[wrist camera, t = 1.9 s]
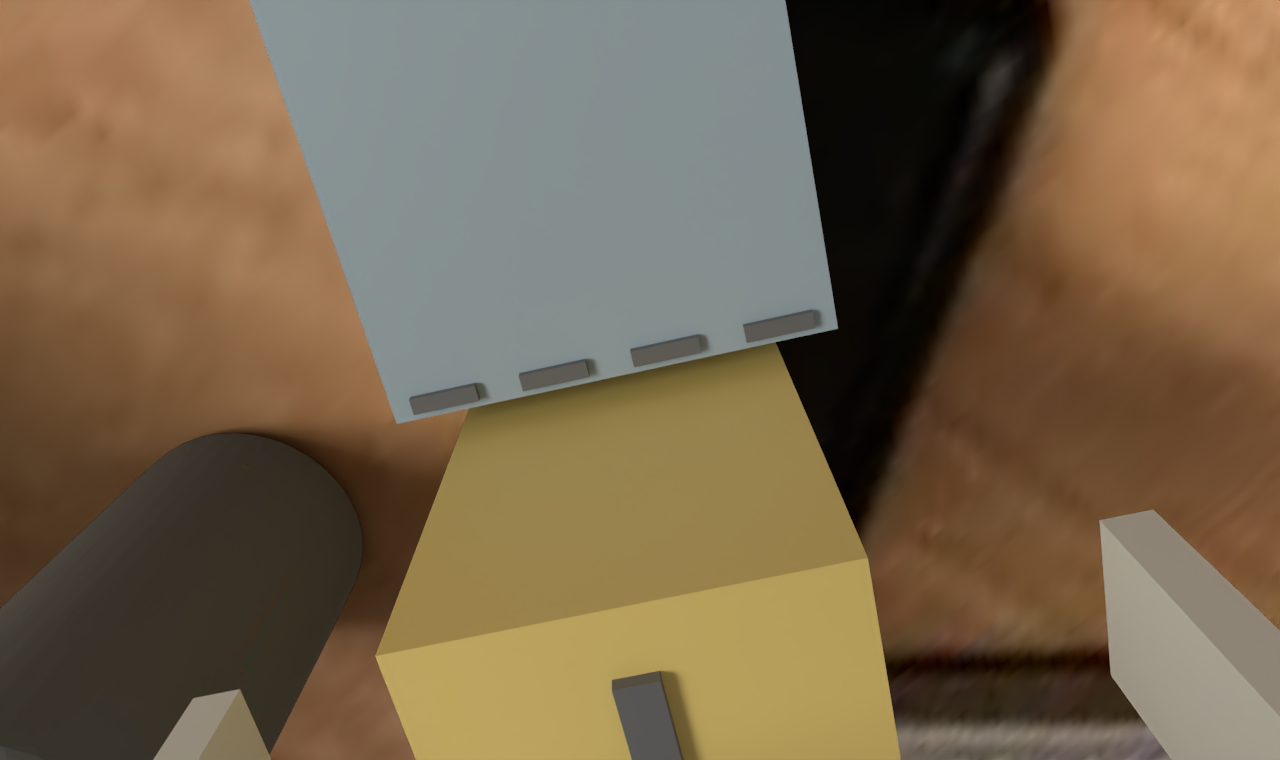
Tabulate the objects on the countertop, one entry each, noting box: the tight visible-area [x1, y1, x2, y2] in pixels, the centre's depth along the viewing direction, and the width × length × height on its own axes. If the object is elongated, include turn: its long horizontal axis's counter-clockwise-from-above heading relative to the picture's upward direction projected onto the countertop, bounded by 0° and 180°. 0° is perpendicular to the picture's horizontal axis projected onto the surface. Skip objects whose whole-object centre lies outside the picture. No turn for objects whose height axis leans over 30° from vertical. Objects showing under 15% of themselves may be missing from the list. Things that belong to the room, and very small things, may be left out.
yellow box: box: [375, 342, 901, 760], centre depth 18 cm, size 5×6×12 cm
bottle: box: [0, 433, 363, 760], centre depth 18 cm, size 6×6×15 cm
